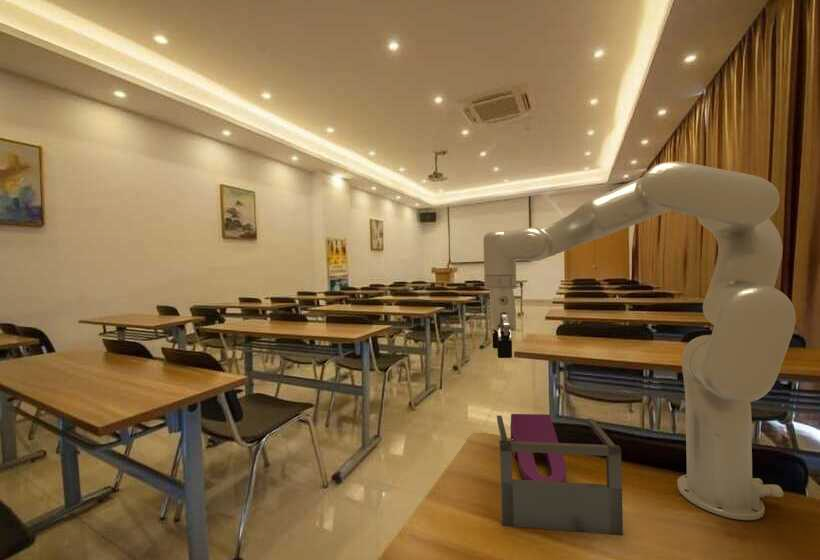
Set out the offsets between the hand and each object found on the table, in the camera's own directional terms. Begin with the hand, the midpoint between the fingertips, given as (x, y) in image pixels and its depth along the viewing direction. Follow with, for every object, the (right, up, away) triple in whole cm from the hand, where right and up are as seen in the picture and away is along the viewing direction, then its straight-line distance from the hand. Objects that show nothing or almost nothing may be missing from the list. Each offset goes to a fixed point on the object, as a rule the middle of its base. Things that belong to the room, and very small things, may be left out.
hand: (501, 352), depth 85 cm
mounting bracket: (+7, -26, -4) cm, 27 cm away
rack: (+5, -26, -18) cm, 32 cm away
